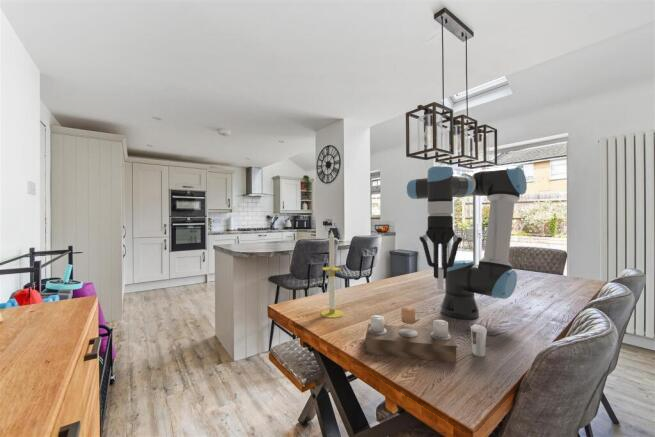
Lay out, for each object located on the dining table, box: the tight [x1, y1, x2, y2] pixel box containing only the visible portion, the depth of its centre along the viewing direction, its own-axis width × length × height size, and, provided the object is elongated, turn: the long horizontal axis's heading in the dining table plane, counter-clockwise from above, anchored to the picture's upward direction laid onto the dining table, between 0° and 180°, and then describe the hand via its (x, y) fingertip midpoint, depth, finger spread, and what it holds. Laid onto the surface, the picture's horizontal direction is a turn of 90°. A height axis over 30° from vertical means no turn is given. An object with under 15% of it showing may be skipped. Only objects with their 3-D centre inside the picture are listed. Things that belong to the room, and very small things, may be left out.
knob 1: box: [370, 314, 385, 332], centre depth 96 cm, size 4×4×4 cm
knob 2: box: [432, 319, 449, 338], centre depth 92 cm, size 4×4×4 cm
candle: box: [320, 229, 344, 319], centre depth 126 cm, size 10×10×38 cm
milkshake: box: [468, 323, 488, 358], centre depth 90 cm, size 4×5×10 cm
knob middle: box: [400, 306, 416, 325], centre depth 94 cm, size 4×4×4 cm
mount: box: [364, 323, 457, 364], centre depth 94 cm, size 27×12×5 cm, turn 77°
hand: (440, 288), depth 92 cm, fingers closed
